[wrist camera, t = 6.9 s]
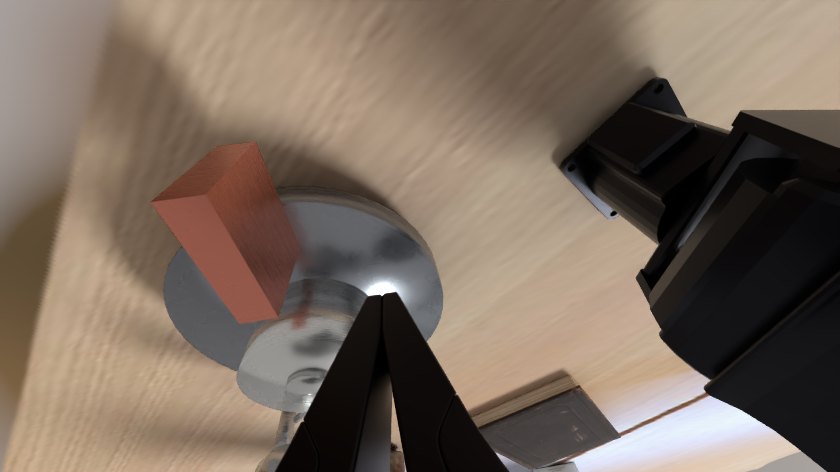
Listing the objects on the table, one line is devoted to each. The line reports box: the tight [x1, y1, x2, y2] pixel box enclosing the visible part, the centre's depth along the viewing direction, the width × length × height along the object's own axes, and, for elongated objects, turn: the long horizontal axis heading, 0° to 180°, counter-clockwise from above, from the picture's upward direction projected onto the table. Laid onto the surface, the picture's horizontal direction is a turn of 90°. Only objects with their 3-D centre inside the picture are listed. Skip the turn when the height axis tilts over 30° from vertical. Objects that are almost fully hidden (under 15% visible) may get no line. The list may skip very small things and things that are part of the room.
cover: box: [237, 278, 368, 413], centre depth 17 cm, size 7×7×5 cm
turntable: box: [151, 142, 443, 371], centre depth 17 cm, size 16×16×6 cm
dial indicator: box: [255, 411, 306, 472], centre depth 23 cm, size 4×6×10 cm, turn 140°
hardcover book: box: [472, 375, 621, 469], centre depth 43 cm, size 16×23×2 cm
